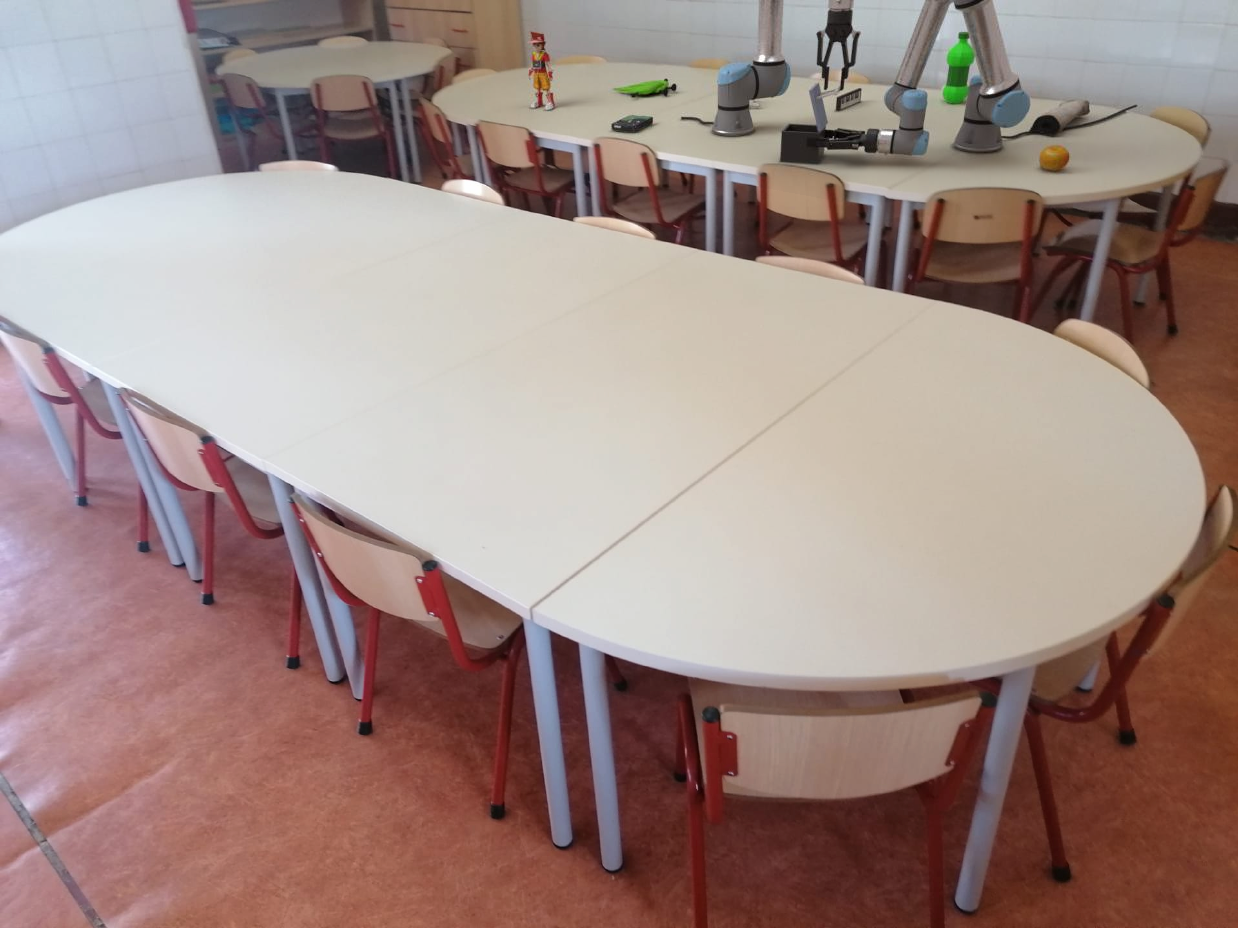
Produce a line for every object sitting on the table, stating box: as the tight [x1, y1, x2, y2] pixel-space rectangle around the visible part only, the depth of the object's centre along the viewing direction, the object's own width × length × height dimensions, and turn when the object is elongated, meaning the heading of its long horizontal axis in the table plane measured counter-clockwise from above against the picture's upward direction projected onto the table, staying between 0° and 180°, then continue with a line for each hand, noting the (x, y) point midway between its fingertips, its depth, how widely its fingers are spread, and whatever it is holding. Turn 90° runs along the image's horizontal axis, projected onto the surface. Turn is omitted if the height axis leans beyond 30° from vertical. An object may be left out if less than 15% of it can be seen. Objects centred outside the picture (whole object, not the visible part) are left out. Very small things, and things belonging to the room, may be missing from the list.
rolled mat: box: [1028, 99, 1091, 137], centre depth 319 cm, size 30×9×10 cm
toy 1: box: [527, 31, 556, 111], centre depth 374 cm, size 12×9×30 cm
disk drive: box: [610, 114, 654, 133], centre depth 348 cm, size 10×3×15 cm
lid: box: [808, 82, 841, 132], centre depth 291 cm, size 13×10×8 cm
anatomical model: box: [749, 99, 761, 109], centre depth 365 cm, size 15×10×10 cm
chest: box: [779, 123, 827, 165], centre depth 301 cm, size 13×10×10 cm
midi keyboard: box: [835, 87, 863, 112], centre depth 357 cm, size 18×1×5 cm, turn 138°
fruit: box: [1038, 144, 1071, 172], centre depth 279 cm, size 8×8×8 cm
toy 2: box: [612, 78, 677, 99], centre depth 396 cm, size 28×5×30 cm
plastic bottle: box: [942, 31, 975, 104], centre depth 348 cm, size 10×10×25 cm
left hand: (833, 89), depth 288 cm, fingers open, 4 cm apart
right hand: (810, 137), depth 299 cm, fingers closed on chest, 10 cm apart
